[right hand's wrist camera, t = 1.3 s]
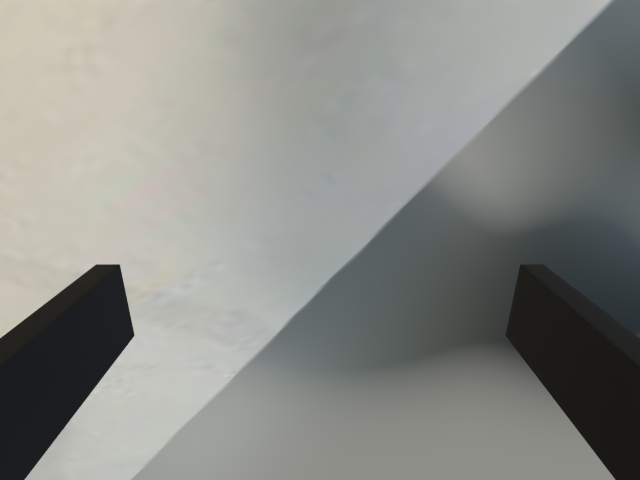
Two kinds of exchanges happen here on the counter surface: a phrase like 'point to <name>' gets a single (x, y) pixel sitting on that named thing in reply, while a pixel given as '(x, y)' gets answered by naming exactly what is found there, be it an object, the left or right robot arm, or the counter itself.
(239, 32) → the counter surface
